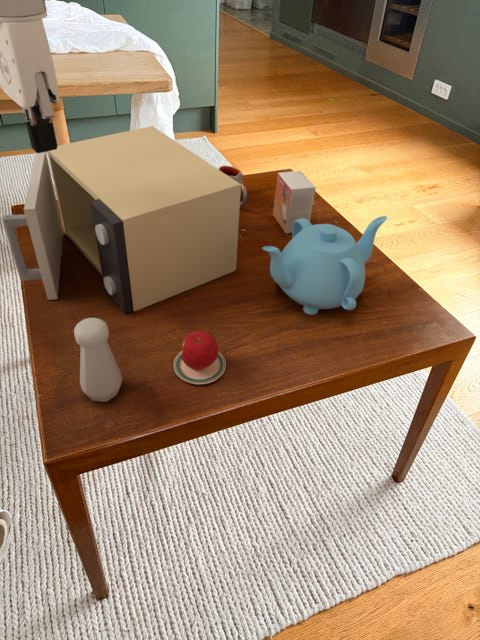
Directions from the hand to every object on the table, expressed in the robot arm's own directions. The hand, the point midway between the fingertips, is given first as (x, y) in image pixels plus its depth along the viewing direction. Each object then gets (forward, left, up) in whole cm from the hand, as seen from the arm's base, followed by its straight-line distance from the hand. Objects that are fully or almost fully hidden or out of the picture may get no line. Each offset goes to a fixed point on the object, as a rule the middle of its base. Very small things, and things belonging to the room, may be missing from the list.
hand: (45, 149), depth 72 cm
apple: (+21, -20, -26) cm, 39 cm away
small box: (+43, +22, -26) cm, 55 cm away
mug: (+31, +32, -26) cm, 52 cm away
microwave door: (-6, +7, -26) cm, 27 cm away
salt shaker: (+7, -24, -26) cm, 36 cm away
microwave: (+11, +11, -26) cm, 30 cm away
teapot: (+43, -3, -26) cm, 51 cm away
